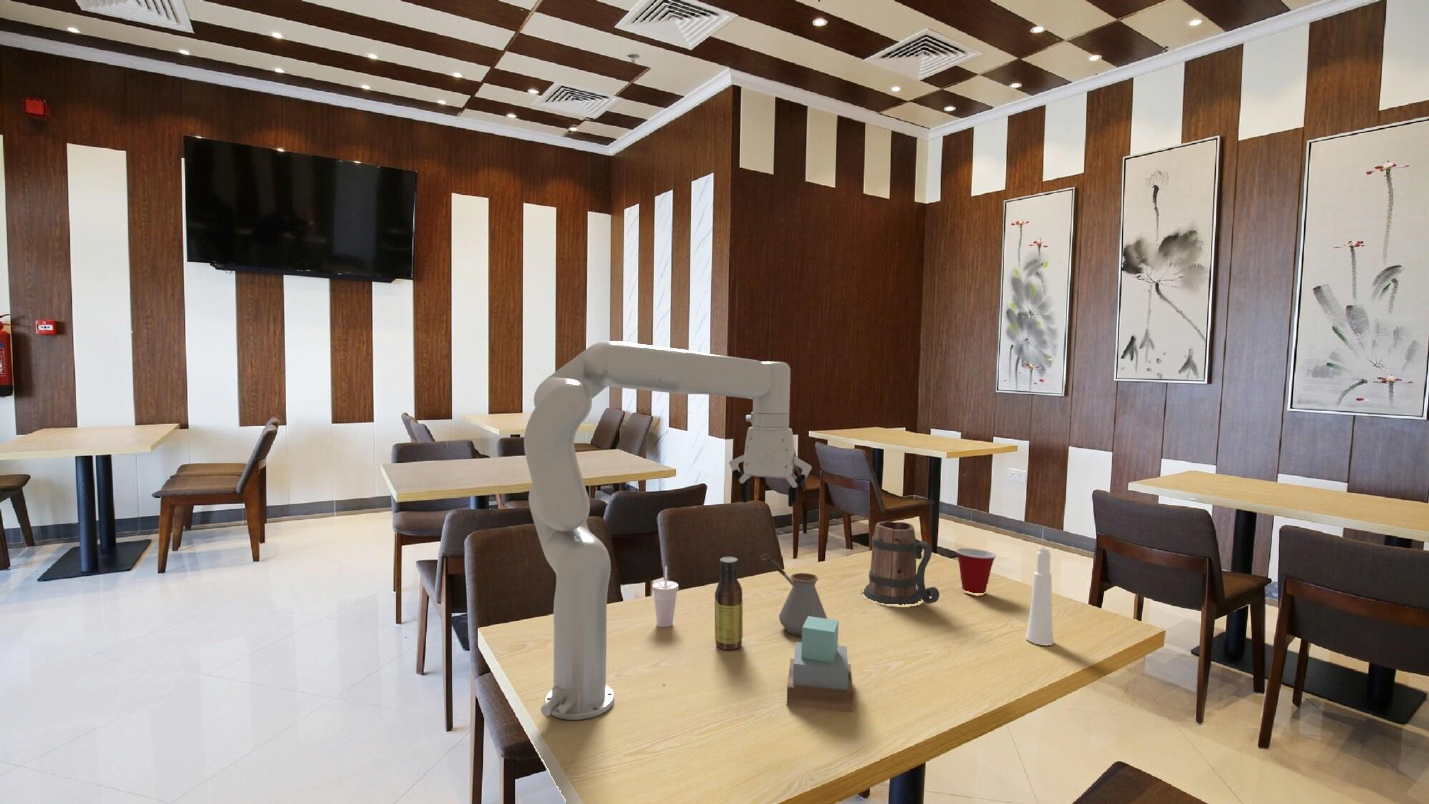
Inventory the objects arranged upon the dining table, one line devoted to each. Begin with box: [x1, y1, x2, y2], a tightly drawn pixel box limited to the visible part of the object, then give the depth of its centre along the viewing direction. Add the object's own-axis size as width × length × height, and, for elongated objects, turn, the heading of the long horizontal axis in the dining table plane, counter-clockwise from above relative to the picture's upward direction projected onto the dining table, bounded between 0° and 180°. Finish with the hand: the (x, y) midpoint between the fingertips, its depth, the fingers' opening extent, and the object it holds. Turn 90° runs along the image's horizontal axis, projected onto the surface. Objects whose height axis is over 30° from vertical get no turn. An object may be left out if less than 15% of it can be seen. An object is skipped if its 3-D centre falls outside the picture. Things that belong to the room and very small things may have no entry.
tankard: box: [863, 521, 940, 605], centre depth 180 cm, size 24×17×20 cm
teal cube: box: [801, 616, 840, 663], centre depth 128 cm, size 6×6×6 cm
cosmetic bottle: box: [1025, 546, 1055, 645], centre depth 155 cm, size 6×6×22 cm
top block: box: [793, 641, 849, 690], centre depth 129 cm, size 10×10×4 cm
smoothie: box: [651, 565, 680, 628], centre depth 161 cm, size 6×6×14 cm
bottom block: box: [786, 658, 854, 713], centre depth 129 cm, size 12×12×4 cm
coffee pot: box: [760, 552, 828, 637], centre depth 163 cm, size 21×12×15 cm, turn 34°
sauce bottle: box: [714, 556, 744, 651], centre depth 149 cm, size 7×6×20 cm
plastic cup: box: [955, 547, 997, 593], centre depth 188 cm, size 11×11×12 cm
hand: (768, 503), depth 139 cm, fingers open, 9 cm apart
